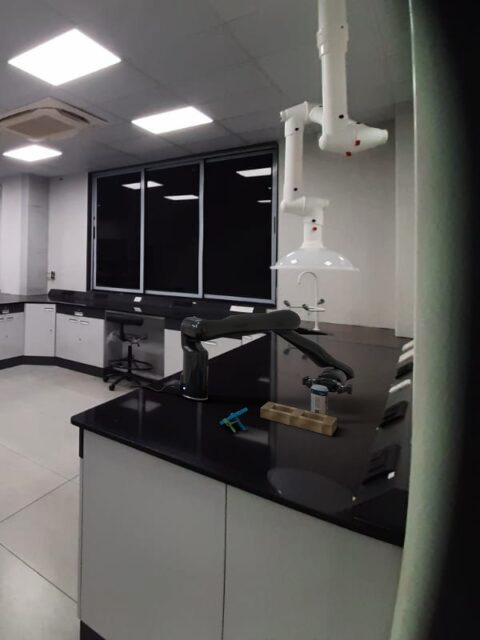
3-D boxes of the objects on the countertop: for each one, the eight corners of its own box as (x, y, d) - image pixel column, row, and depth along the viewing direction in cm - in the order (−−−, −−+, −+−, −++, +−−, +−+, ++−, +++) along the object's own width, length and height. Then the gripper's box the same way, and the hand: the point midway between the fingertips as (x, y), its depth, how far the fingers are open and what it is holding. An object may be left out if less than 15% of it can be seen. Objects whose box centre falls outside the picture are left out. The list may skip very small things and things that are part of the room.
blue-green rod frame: (229, 415, 143) (250, 402, 136) (242, 431, 140) (264, 419, 133) (210, 424, 138) (230, 412, 131) (223, 441, 135) (245, 429, 128)
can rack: (260, 417, 147) (260, 407, 147) (268, 410, 154) (268, 401, 154) (331, 436, 132) (331, 425, 132) (336, 427, 139) (337, 417, 139)
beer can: (330, 422, 144) (331, 388, 144) (315, 420, 145) (316, 387, 145) (322, 417, 149) (322, 384, 149) (307, 415, 150) (308, 383, 150)
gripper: (308, 367, 166) (299, 373, 155) (356, 375, 155) (349, 383, 145) (308, 385, 166) (299, 393, 155) (355, 394, 155) (349, 403, 144)
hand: (323, 388), depth 150 cm, fingers open, 8 cm apart
